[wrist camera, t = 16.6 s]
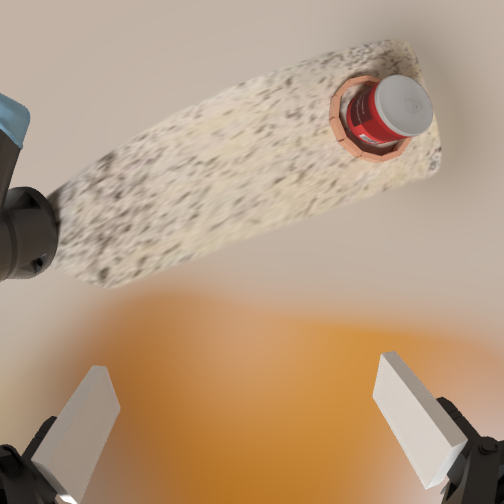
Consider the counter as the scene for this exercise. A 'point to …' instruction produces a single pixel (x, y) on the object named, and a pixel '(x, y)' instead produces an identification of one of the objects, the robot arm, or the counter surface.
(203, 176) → the counter surface
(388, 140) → the canned food
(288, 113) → the counter surface
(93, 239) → the counter surface
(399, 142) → the ring
